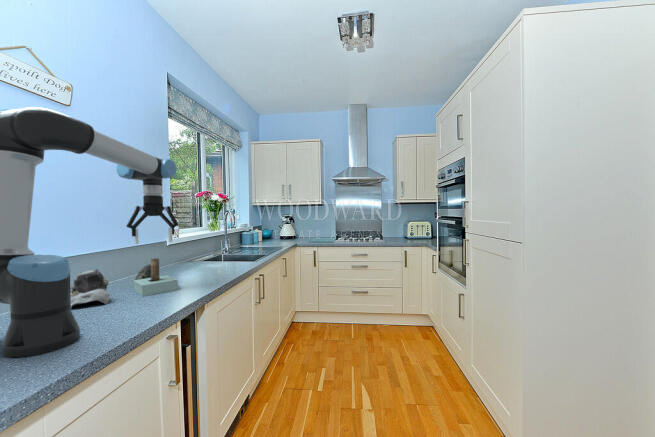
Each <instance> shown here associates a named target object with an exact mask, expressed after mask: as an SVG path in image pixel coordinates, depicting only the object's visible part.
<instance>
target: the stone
mask: <svg viewBox="0 0 655 437" xmlns="http://www.w3.org/2000/svg"><path fill="white" fill-rule="evenodd" d="M101 272H102V271H100V270H99V269H92V270H91V269H90V270H86V271H83V272H80V273H79V274H77V275H76V276H75V278H74V280H73V284H72V285H71V286H70V296H71V309H72V308H73V307H75V306H77V305H81V304H86V303H91V301H92V302H97V301H98V302H101V303H103V304H105V305H107V304H109V303H110V296H111V295H110V292H108V290H107V289H108V286H109V280H108V279H107V278H106V277H105V276H104V275H103V274H102V273H101Z"/></svg>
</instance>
